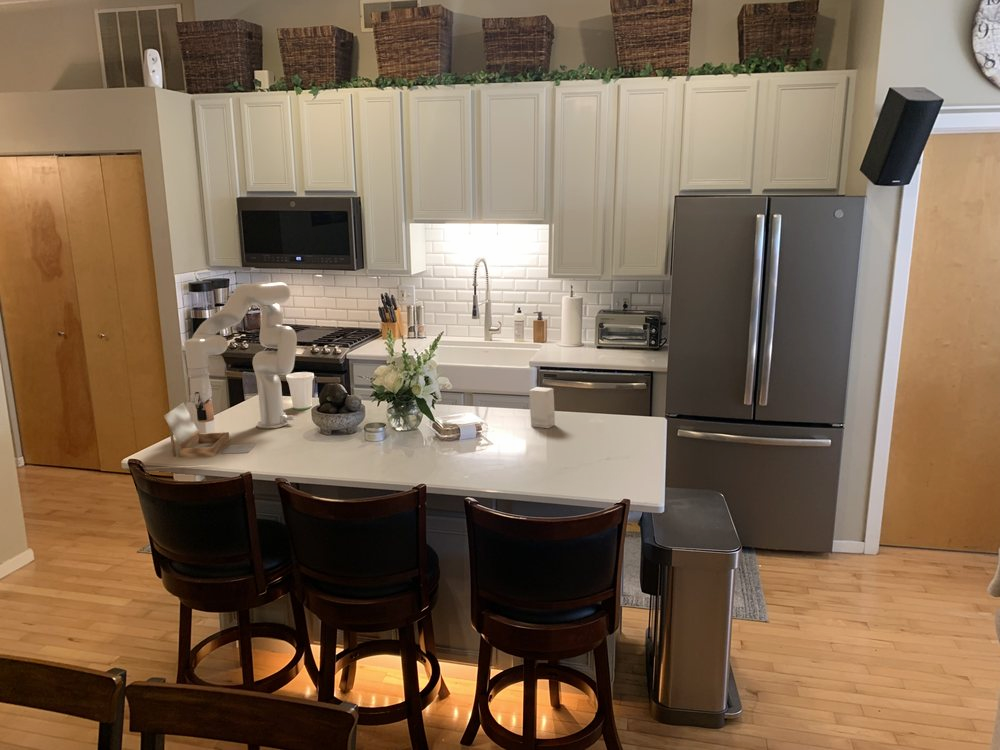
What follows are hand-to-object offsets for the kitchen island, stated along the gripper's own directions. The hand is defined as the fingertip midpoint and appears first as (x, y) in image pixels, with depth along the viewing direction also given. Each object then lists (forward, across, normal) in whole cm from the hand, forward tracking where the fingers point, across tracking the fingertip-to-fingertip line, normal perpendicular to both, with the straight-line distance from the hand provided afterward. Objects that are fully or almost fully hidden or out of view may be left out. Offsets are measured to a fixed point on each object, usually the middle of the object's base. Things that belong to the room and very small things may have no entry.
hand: (205, 417), depth 286 cm
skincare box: (+15, -12, +130) cm, 131 cm away
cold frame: (+12, +1, -3) cm, 13 cm away
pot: (+1, 0, 0) cm, 1 cm away
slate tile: (+13, +4, +12) cm, 18 cm away
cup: (+15, -58, +24) cm, 64 cm away
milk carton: (+13, -17, -8) cm, 23 cm away
